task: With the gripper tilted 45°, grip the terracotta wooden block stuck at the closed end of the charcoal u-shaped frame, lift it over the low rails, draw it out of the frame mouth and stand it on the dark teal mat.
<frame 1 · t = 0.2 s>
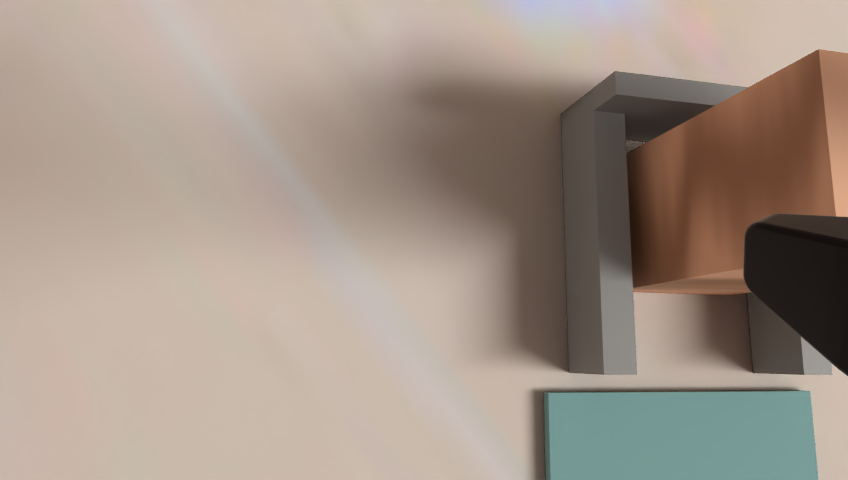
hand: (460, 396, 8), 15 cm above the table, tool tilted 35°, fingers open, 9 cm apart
terracotta block: (669, 229, 26), on the table
charcoal u-shaped frame: (670, 229, 26), on the table
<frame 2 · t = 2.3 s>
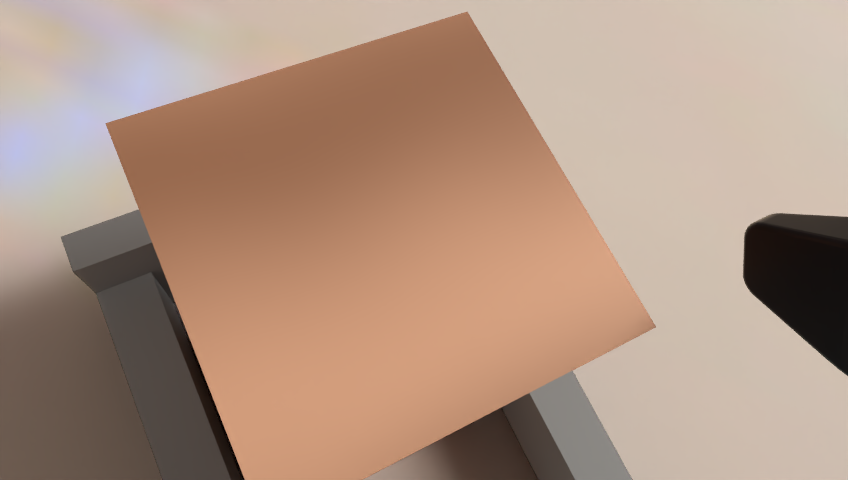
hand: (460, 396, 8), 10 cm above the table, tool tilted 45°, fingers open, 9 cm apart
terracotta block: (345, 371, 17), on the table
charcoal u-shaped frame: (345, 371, 17), on the table
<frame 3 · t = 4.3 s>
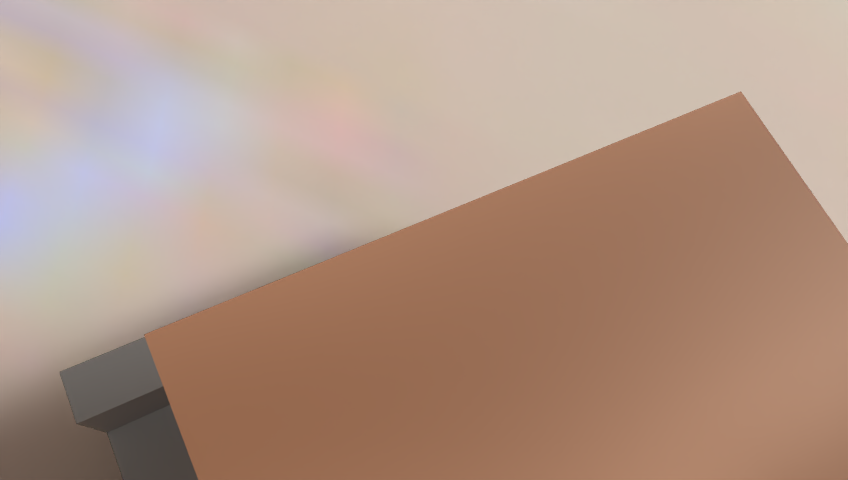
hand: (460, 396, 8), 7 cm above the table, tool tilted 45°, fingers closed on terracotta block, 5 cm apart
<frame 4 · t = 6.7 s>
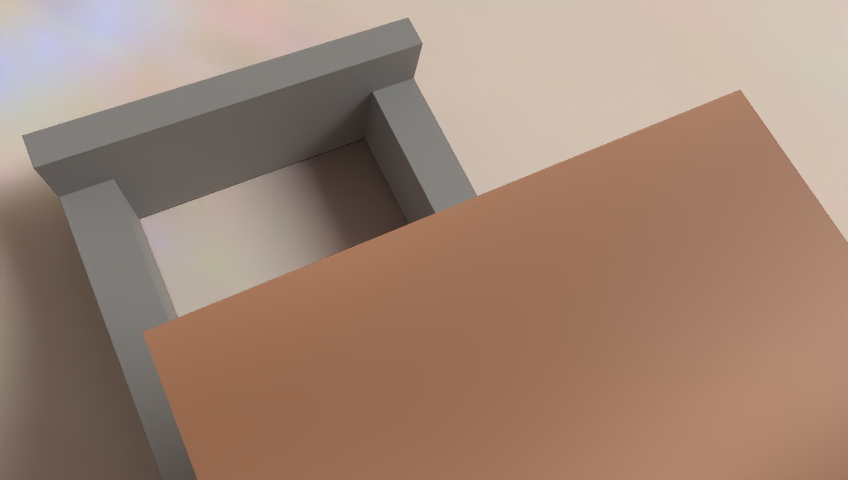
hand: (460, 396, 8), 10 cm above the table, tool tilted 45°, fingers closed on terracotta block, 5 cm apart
charcoal u-shaped frame: (307, 286, 18), on the table
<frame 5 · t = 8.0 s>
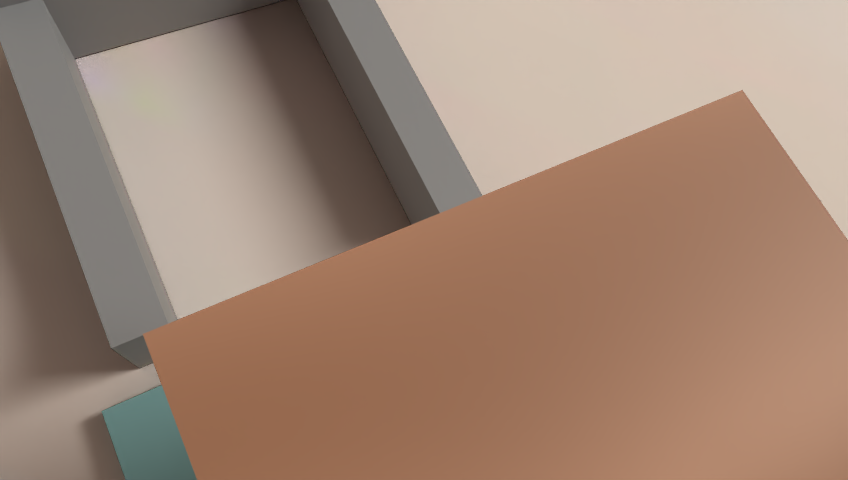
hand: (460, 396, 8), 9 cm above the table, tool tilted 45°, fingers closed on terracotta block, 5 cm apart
charcoal u-shaped frame: (234, 123, 19), on the table
when the fingers open (8 cm above the table, at t = 9.1 s): terracotta block stays where it is, resting on teal mat.
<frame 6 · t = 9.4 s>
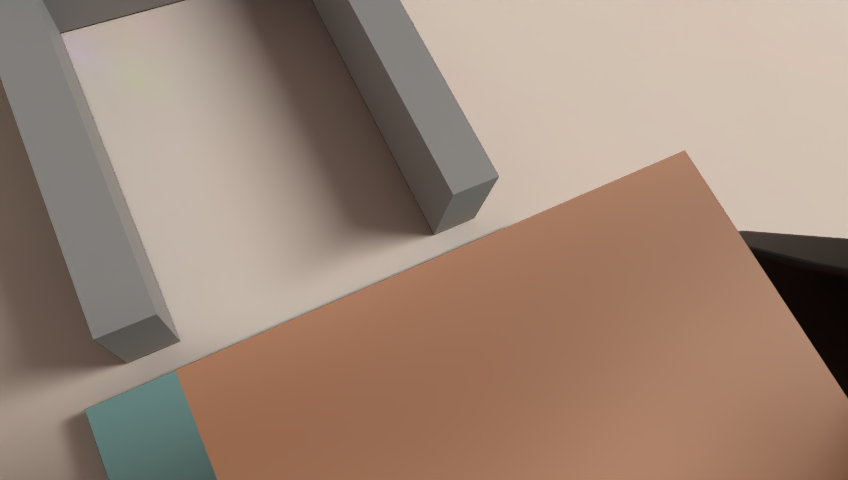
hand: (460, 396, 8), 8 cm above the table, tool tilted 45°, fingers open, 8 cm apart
charcoal u-shaped frame: (230, 101, 17), on the table
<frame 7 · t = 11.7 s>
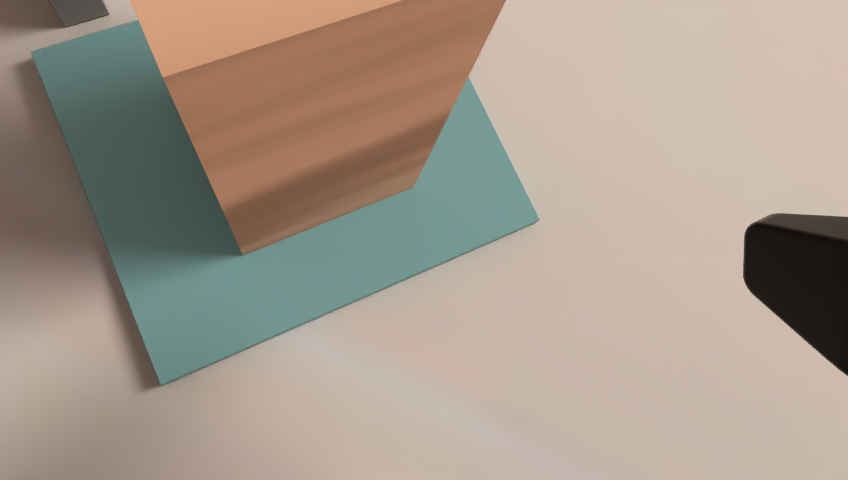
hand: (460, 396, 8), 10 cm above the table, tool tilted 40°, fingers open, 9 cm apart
terracotta block: (295, 140, 18), resting on teal mat
teal mat: (294, 144, 19), on the table
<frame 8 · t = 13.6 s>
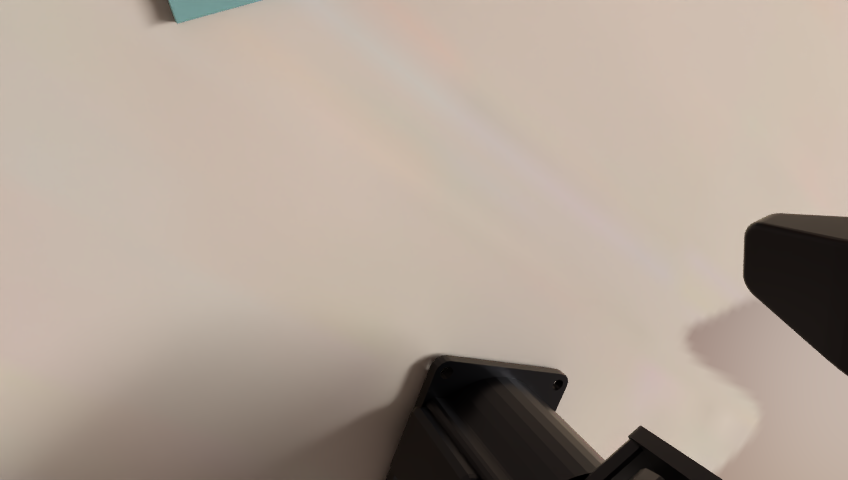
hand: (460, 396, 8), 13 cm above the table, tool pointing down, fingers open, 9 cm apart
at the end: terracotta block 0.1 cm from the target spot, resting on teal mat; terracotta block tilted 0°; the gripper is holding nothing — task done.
